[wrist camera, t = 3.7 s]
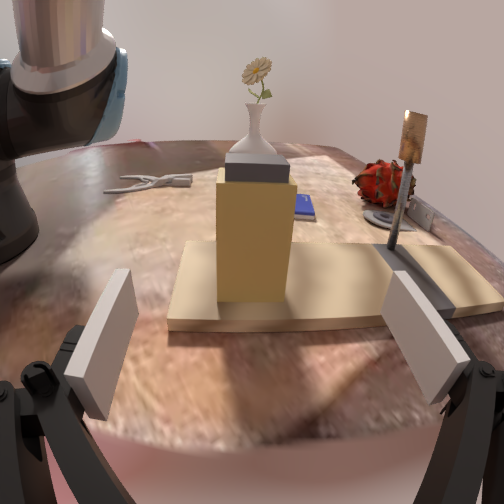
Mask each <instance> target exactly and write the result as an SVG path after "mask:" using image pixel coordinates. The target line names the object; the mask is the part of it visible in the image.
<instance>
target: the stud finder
mask: <svg viewBox="0 0 504 504" xmlns="http://www.w3.org/2000/svg"><path fill="white" fill-rule="evenodd" d="M289 172H290V164H289V163H288V162H287V160H286V159H285V158H284V157H283V155H272V154H247V153H226V159H225V168H219V170H218V176H217V182H216V274H217V302H284V297H285V290H286V282H287V274H288V266H289V258H290V250H291V241H292V232H293V223H294V214H295V205H296V195H297V184H296V183H295V181H294V180H293V178H292V177H291V175H290V174H289Z"/></svg>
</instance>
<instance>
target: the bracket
mask: <svg viewBox="0 0 504 504" xmlns="http://www.w3.org/2000/svg"><path fill="white" fill-rule="evenodd" d="M415 203H416V207H415V210H413V208H414V204H415ZM427 214H429V215H430V220H428V219H427V218H426V216H427ZM407 215H408V216H409V217H411V218H412V219H413V220H414V221H415V222H417V223H418V224H419V225H420V226H422V227H423V228H424V229H425V230H427V231H428V232H429V230H430V228H431V225H432V222H433V219H434V216H435V213H434V212H433V211H431V210H430V209H429V208H427V207H426V206H424V205H423V204H422V203H420V202H419V201H417V200H416V199H414V198H412V199H411V202H410V206H409V209H408V212H407ZM363 216H364V217H365V218H366V219H367V220H369V221H371V222H372V223H374V224H377V225H379V226H382V227H385V228H389V229H391V226H392V222H393V218H394V213H389V212H383V211H377V210H365V211H364V212H363ZM400 230H401V231H417V230H416V229H414V228H412V226H411V225H410V224H408V223H407V222H406V221H405V220H404V219H402V223H401V227H400Z"/></svg>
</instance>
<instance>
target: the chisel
mask: <svg viewBox="0 0 504 504" xmlns="http://www.w3.org/2000/svg"><path fill="white" fill-rule="evenodd" d="M427 118H428V116H427V115H423V114H419V113H415V112H410V111H406V110H405V114H404V123H403V130H402V137H401V144H400V151H399V159H401V160H404V161H405V162H404V168H403V173H402V179H401V184H400V189H399V194H398V199H397V204H396V209H395V213H394V218H393V222H392V226H391V230H390V235H389V239H388V243H387V247H386V248H387V249H388V250H392V251H393V250H395V246H396V243H397V239H398V235H399V231H400V227H401V223H402V219H403V214H404V210H405V206H406V201H407V196H408V192H409V187H410V182H411V176H412V171H413V165H414V163H416V164H420V163H421V158H422V152H423V146H424V140H425V133H426V125H427Z"/></svg>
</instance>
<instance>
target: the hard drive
mask: <svg viewBox="0 0 504 504" xmlns="http://www.w3.org/2000/svg"><path fill="white" fill-rule="evenodd" d="M294 218H298V219H310V220H314V218H315V211H314V208H313V205H312V202H311V198H310V195H305V194H297V195H296V205H295V214H294Z"/></svg>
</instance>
